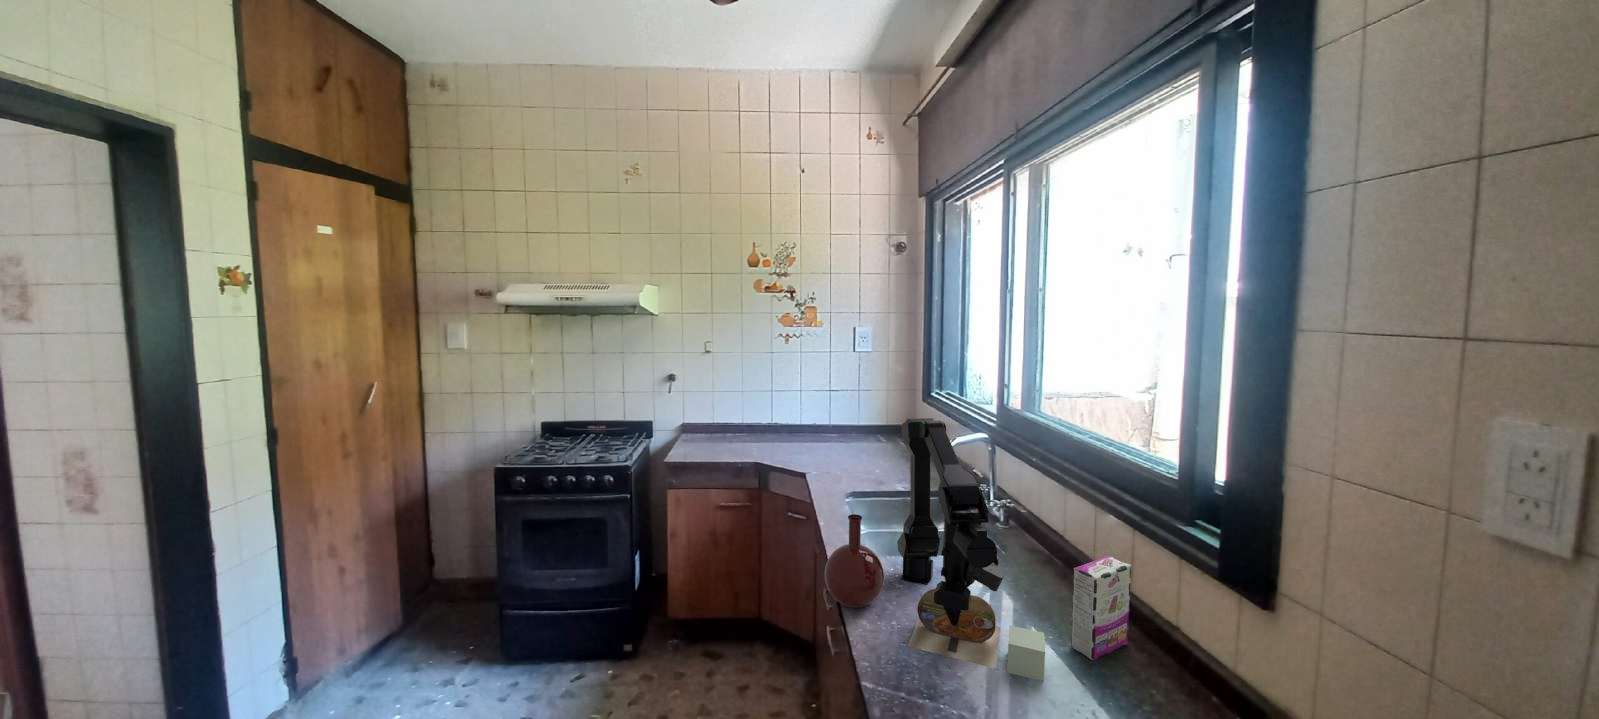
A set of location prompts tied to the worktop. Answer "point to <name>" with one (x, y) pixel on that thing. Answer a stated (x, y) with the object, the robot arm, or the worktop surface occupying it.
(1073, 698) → the worktop surface
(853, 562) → the round-bottom flask
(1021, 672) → the green block
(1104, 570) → the candy bar box
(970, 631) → the tin
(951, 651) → the board
